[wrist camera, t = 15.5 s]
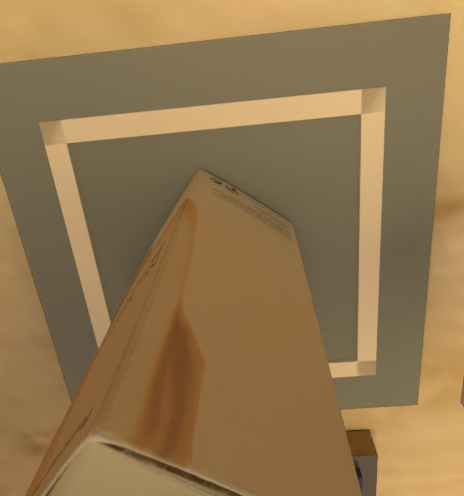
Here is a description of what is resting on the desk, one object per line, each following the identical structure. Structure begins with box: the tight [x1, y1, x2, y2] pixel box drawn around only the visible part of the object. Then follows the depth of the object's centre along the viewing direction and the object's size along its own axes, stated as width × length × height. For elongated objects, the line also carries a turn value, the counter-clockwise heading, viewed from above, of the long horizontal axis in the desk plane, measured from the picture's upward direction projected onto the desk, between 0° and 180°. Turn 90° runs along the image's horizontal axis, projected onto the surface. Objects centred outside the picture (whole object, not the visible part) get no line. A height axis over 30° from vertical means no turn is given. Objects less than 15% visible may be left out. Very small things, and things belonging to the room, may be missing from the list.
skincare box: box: [25, 170, 362, 496], centre depth 12 cm, size 6×4×12 cm
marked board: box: [0, 13, 451, 409], centre depth 18 cm, size 16×16×1 cm
